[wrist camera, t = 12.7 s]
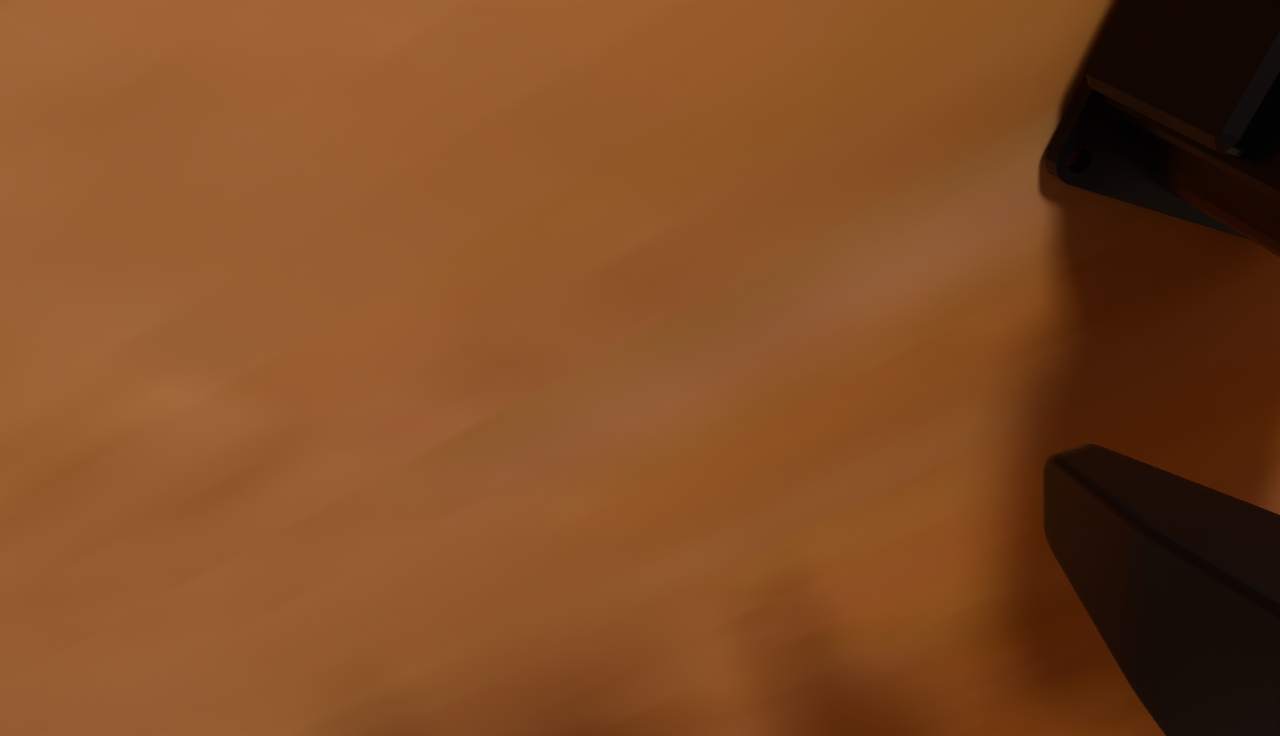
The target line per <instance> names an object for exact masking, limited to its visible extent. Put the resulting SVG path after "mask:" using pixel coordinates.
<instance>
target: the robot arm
mask: <svg viewBox="0 0 1280 736" xmlns="http://www.w3.org/2000/svg"><path fill="white" fill-rule="evenodd" d="M1080 148H1081V153H1080V157H1079V158H1078V160H1077V161H1076V162H1075V163H1074V164H1072V165H1070V166H1068V160H1069V157H1070V156H1071V155H1072V153H1073V152H1074V151H1076V150H1078V149H1080ZM1046 167H1047V168H1048V170H1049V172H1050V173H1051V174H1052V175H1054V176H1055V177H1057V178H1058V179H1060V180H1061V181H1063V182H1065V183H1066V184H1068V185H1072V186H1075V187H1078V188H1082V189H1085V190H1088V191H1092V192H1095V193H1098V194H1101V195H1105V196H1108V197H1111V198H1115V199H1118V200H1121V201H1125V202H1128V203H1131V204H1134V205H1138V206H1141V207H1144V208H1148V209H1151V210H1154V211H1158V212H1161V213H1164V214H1167V215H1171V216H1174V217H1177V218H1181V219H1184V220H1187V221H1191V222H1194V223H1197V224H1201V225H1204V226H1207V227H1210V228H1214V229H1217V230H1220V231H1224V232H1227V233H1230V234H1234V235H1237V236H1240V237H1243V238H1247V239H1250V240H1252V241H1253V242H1255V243H1257V244H1259V245H1260V246H1262V247H1264V248H1265V249H1267V250H1269V251H1271V252H1272V253H1274V254H1276V255H1277V256H1279V257H1280V0H1122V1H1121V3H1120V5H1119V7H1118V9H1117V11H1116V13H1115V15H1114V17H1113V19H1112V21H1111V23H1110V25H1109V27H1108V29H1107V31H1106V33H1105V35H1104V37H1103V39H1102V41H1101V43H1100V45H1099V47H1098V49H1097V51H1096V53H1095V54H1094V56H1093V58H1092V60H1091V62H1090V64H1089V66H1088V68H1087V74H1086V76H1085V78H1084V80H1083V82H1082V83H1081V85H1080V87H1079V89H1078V91H1077V93H1076V95H1075V97H1074V99H1073V101H1072V103H1071V105H1070V107H1069V109H1068V111H1067V113H1066V115H1065V117H1064V119H1063V121H1062V123H1061V125H1060V127H1059V129H1058V131H1057V133H1056V135H1055V136H1054V138H1053V140H1052V142H1051V144H1050V146H1049V149H1048V152H1047V155H1046ZM1043 506H1044V530H1045V535H1046V538H1047V541H1048V544H1049V546H1050V549H1051V551H1052V552H1053V554H1054V556H1055V558H1056V559H1057V561H1058V563H1059V565H1060V566H1061V568H1062V570H1063V571H1064V573H1065V575H1066V577H1067V578H1068V580H1069V582H1070V583H1071V585H1072V587H1073V589H1074V590H1075V592H1076V594H1077V595H1078V597H1079V599H1080V601H1081V602H1082V604H1083V606H1084V607H1085V609H1086V611H1087V613H1088V614H1089V616H1090V618H1091V619H1092V621H1093V623H1094V625H1095V626H1096V628H1097V630H1098V631H1099V633H1100V635H1101V637H1102V638H1103V640H1104V642H1105V643H1106V645H1107V647H1108V649H1109V650H1110V652H1111V654H1112V655H1113V657H1114V659H1115V661H1116V662H1117V664H1118V666H1119V667H1120V669H1121V671H1122V672H1123V674H1124V676H1125V677H1126V679H1127V680H1128V682H1129V684H1130V685H1131V687H1132V689H1133V690H1134V692H1135V693H1136V695H1137V696H1138V698H1139V699H1140V700H1141V702H1142V703H1143V705H1144V706H1145V708H1146V709H1147V710H1148V712H1149V713H1150V715H1151V716H1152V717H1153V719H1154V720H1155V722H1156V723H1157V724H1158V726H1159V727H1160V728H1161V730H1162V731H1163V732H1164V734H1165V735H1166V736H1280V515H1278V514H1276V513H1273V512H1271V511H1268V510H1265V509H1263V508H1260V507H1258V506H1255V505H1252V504H1250V503H1247V502H1245V501H1242V500H1239V499H1237V498H1234V497H1231V496H1229V495H1226V494H1224V493H1221V492H1218V491H1216V490H1213V489H1211V488H1208V487H1205V486H1203V485H1200V484H1198V483H1195V482H1192V481H1190V480H1187V479H1185V478H1182V477H1179V476H1177V475H1174V474H1171V473H1169V472H1166V471H1164V470H1161V469H1158V468H1156V467H1153V466H1151V465H1148V464H1145V463H1143V462H1140V461H1138V460H1135V459H1132V458H1130V457H1127V456H1125V455H1122V454H1119V453H1117V452H1114V451H1111V450H1109V449H1106V448H1104V447H1101V446H1098V445H1094V444H1084V445H1080V446H1077V447H1074V448H1070V449H1067V450H1064V451H1060V452H1057V453H1054V454H1052V455H1050V456H1049V457H1048V458H1047V459H1046V461H1045V464H1044V470H1043Z"/></svg>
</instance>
